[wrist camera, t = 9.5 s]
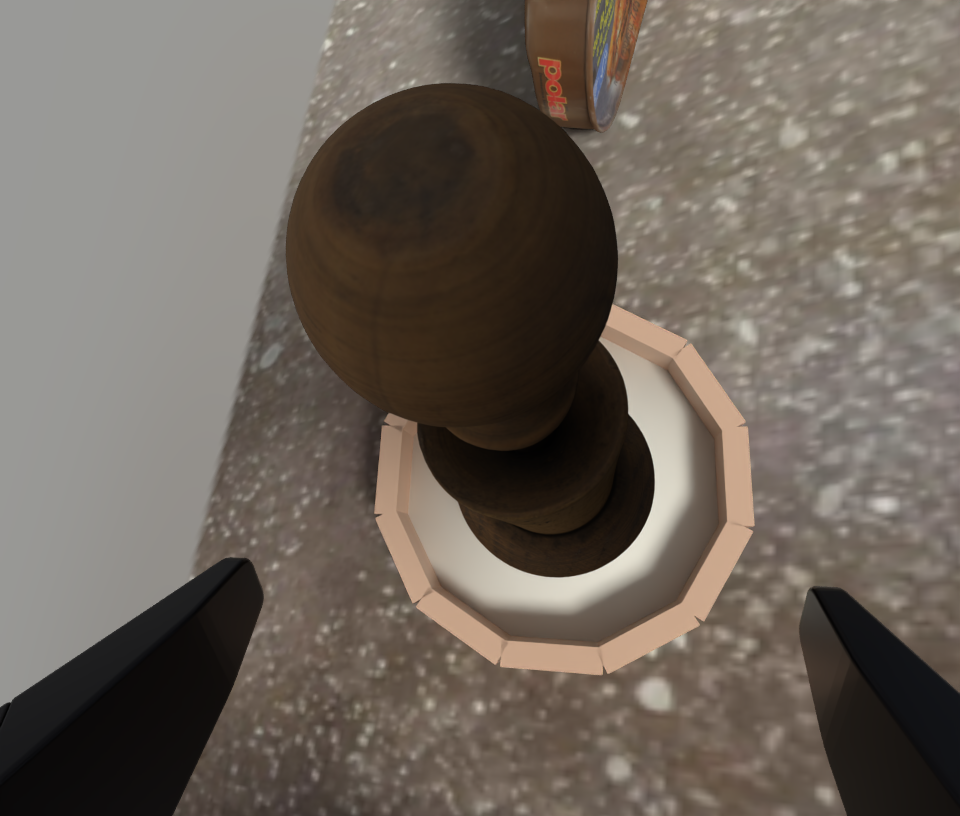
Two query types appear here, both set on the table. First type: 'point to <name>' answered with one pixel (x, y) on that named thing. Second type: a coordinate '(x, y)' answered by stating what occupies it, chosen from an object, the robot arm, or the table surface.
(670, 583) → the bowl
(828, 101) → the table surface
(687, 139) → the table surface
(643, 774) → the table surface
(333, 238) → the mortar and pestle
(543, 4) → the tin
